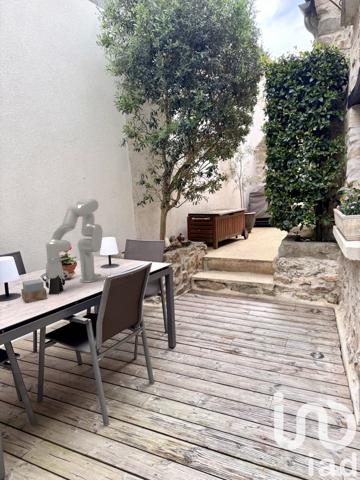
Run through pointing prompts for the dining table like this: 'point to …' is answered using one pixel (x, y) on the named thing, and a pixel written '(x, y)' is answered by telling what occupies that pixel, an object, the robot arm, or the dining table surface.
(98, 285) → the dining table surface
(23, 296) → the base block
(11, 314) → the dining table surface
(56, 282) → the phone stand
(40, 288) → the top block
